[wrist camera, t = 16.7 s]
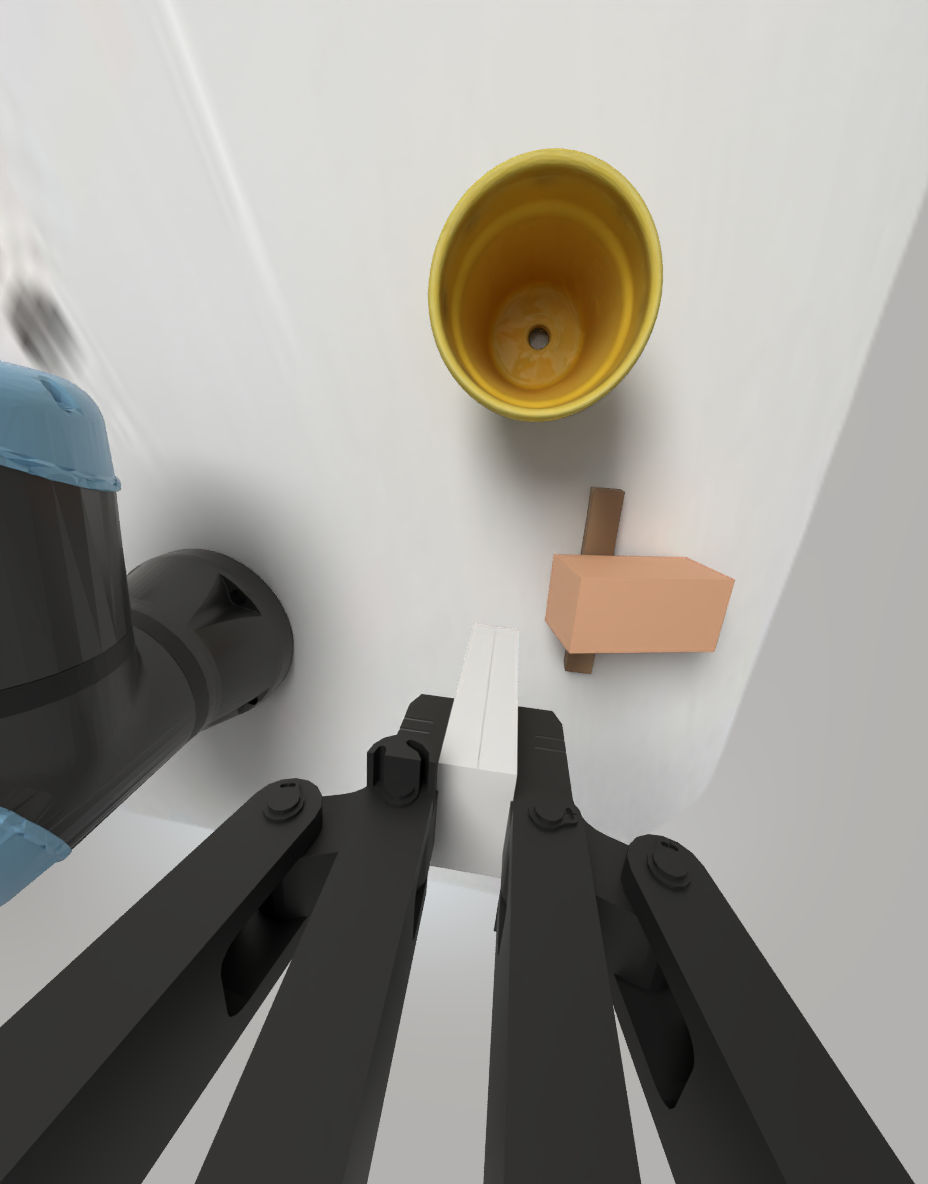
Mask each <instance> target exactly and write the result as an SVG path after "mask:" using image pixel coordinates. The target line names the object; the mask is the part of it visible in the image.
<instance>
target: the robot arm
mask: <svg viewBox="0 0 928 1184" xmlns="http://www.w3.org/2000/svg"><path fill="white" fill-rule="evenodd" d="M120 490H121V483H120V480H119V479H118V478H117V477H116V476H115V474H114V469H113V464H112V458H111V453H110V448H109V443H108V437H107V432H106V427H105V422H104V419H103V416H102V413H101V411H100V409H99V408H98V406H97V405H96V403H95V402H94V400H93V399H92V398H91V397H90V396H89V395H88V394H87V393H86V392H84V391H83V390H82V389H80V388H79V387H78V386H76V385H75V384H73V383H71V382H70V381H68V380H66V379H64V378H61V377H59V376H56V375H53V374H49V373H46V372H42V371H39V370H35V369H31V368H27V367H24V366H20V365H16V364H12V363H8V362H4V361H0V906H2V905H4V904H5V903H6V902H8V901H9V900H10V899H12V898H13V897H14V896H15V895H16V894H18V893H19V892H20V891H21V890H22V889H24V888H25V887H26V886H27V885H29V884H30V883H31V882H32V881H33V880H35V878H37V877H38V876H39V875H41V874H42V873H43V872H44V871H45V870H47V869H48V868H49V867H50V866H52V865H53V864H54V863H56V862H59V861H62V860H64V859H65V858H66V857H67V856H68V855H69V854H70V853H71V852H72V849H73V848H74V847H75V846H76V845H77V844H79V843H80V842H81V841H82V840H83V839H84V838H85V837H86V836H87V835H88V834H89V833H90V832H91V831H93V830H94V829H95V828H96V827H97V826H98V825H99V824H100V823H101V822H102V821H103V820H104V819H105V818H107V817H108V816H109V815H110V814H111V813H112V812H113V811H114V810H115V809H116V808H117V807H118V806H119V805H120V804H122V803H123V802H124V801H125V800H126V799H127V798H128V797H129V796H130V795H131V794H132V793H133V792H134V791H136V790H137V789H138V788H139V787H140V786H141V785H142V784H143V783H144V782H145V781H146V780H147V779H148V778H150V777H151V776H152V775H153V774H154V773H155V772H156V771H157V770H158V769H159V768H160V767H161V766H162V765H163V764H165V763H166V762H167V761H168V760H169V759H170V758H171V757H172V756H173V755H174V754H175V753H176V752H177V751H179V750H180V749H181V748H182V747H183V746H184V745H185V744H186V743H187V742H188V741H189V740H190V739H192V738H193V737H194V736H195V735H196V734H197V733H198V732H200V731H202V730H205V729H207V728H209V727H212V726H214V725H216V724H219V723H221V722H223V721H226V720H228V719H230V718H232V717H235V716H237V715H239V714H242V713H244V712H246V711H248V710H250V709H252V708H254V707H255V706H257V705H258V704H260V703H261V702H262V701H264V700H265V699H266V698H267V697H268V696H269V695H270V694H271V693H272V692H273V691H274V690H275V689H276V688H277V687H278V686H279V685H280V683H281V682H282V681H283V679H284V678H285V676H286V674H287V672H288V670H289V667H290V664H291V660H292V653H293V640H292V633H291V628H290V625H289V621H288V618H287V616H286V614H285V611H284V609H283V607H282V605H281V604H280V602H279V600H278V599H277V597H276V596H275V594H274V593H273V592H272V590H271V589H270V588H269V587H268V586H267V584H266V583H265V582H264V581H263V580H262V579H261V578H260V577H259V576H257V575H256V574H255V573H254V572H253V571H251V570H250V569H249V568H247V567H246V566H244V565H243V564H241V563H240V562H238V561H236V560H234V559H232V558H230V557H228V556H225V555H223V554H220V553H217V552H213V551H209V550H202V549H183V550H177V551H173V552H170V553H167V554H164V555H161V556H158V557H155V558H152V559H150V560H148V561H146V562H144V563H142V564H140V565H139V566H137V567H136V568H134V569H133V570H132V571H131V572H130V573H129V574H128V575H127V576H126V569H125V561H124V554H123V547H122V539H121V530H120V521H119V512H118V504H117V495H116V491H120ZM518 650H519V629H514V628H506V627H498V626H490V625H482V624H474V623H473V627H472V631H471V635H470V639H469V643H468V647H467V651H466V655H465V659H464V663H463V667H462V671H461V675H460V679H459V683H458V687H457V691H456V695H455V699H454V698H447V697H439V696H432V695H425V694H421V695H420V696H419V697H418V698H416V699H415V700H414V701H413V702H412V703H410V705H409V707H408V710H407V712H406V714H405V718H404V719H403V722H402V724H401V727H400V730H399V731H398V734H397V735H394V736H390V737H386V738H383V739H381V740H380V741H378V742H376V743H375V744H373V746H372V747H371V748H370V749H369V751H368V752H367V787H365V788H363V789H361V790H358V791H356V792H352V793H347V794H341V795H332V796H323V797H322V795H321V793H320V791H319V789H318V787H317V786H316V785H314V784H313V783H311V782H310V781H308V780H303V779H298V778H294V779H284V780H280V781H277V782H274V783H272V784H269V785H267V786H266V787H264V788H263V789H261V790H260V791H258V792H257V793H256V794H255V795H253V796H252V797H251V798H250V799H249V800H248V801H247V802H246V803H245V804H244V805H243V806H241V807H240V808H239V809H238V810H237V811H236V812H235V813H234V814H233V815H232V816H231V817H229V818H228V819H227V820H226V821H225V822H224V823H223V824H222V825H221V826H220V827H219V828H217V829H216V830H215V831H214V832H213V833H212V834H211V835H210V836H209V837H208V838H207V839H205V840H204V841H203V842H202V843H201V844H200V845H199V846H198V847H197V848H196V849H195V850H194V851H192V852H191V853H190V854H189V855H188V856H187V857H186V858H185V859H184V860H183V861H181V862H180V863H179V864H178V865H177V866H176V867H175V868H174V869H173V870H172V871H170V872H169V873H168V874H167V875H166V876H165V877H164V878H163V879H162V880H161V881H160V882H158V883H157V884H156V885H155V886H154V887H153V888H152V889H151V890H150V891H149V892H148V893H146V894H145V895H144V896H143V897H142V898H141V899H140V900H139V901H138V902H137V903H136V904H135V905H133V906H132V907H131V908H130V909H129V910H128V911H127V912H126V913H125V914H124V915H122V916H121V917H120V918H119V919H118V920H117V921H116V922H115V923H114V924H113V925H112V926H110V927H109V928H108V929H107V930H106V931H105V932H104V933H103V934H102V935H101V936H100V937H98V938H97V939H96V940H95V941H94V942H93V943H92V944H91V945H90V946H89V947H87V948H86V949H85V950H84V951H83V952H82V953H81V954H80V955H79V956H78V957H77V958H75V960H73V961H72V962H71V963H70V964H69V965H68V966H67V967H66V968H65V969H64V970H62V971H61V972H60V973H59V974H58V975H57V976H56V977H55V978H54V979H53V980H51V981H50V983H48V984H47V985H46V986H45V987H44V988H43V989H42V990H41V991H40V992H38V993H37V994H36V995H35V996H34V997H33V998H32V999H31V1000H30V1001H29V1002H28V1003H26V1004H25V1005H24V1006H23V1007H22V1008H21V1009H20V1010H19V1011H18V1012H17V1013H16V1014H14V1015H13V1016H12V1017H11V1018H10V1019H9V1020H8V1021H7V1022H6V1023H5V1024H4V1025H2V1026H1V1027H0V1184H141V1183H142V1182H143V1180H144V1179H145V1177H146V1176H147V1174H148V1173H149V1171H150V1170H151V1168H152V1167H153V1165H154V1164H155V1162H156V1161H157V1159H158V1158H159V1156H160V1155H161V1153H162V1152H163V1150H164V1149H165V1147H166V1146H167V1144H168V1143H169V1141H170V1140H171V1138H172V1137H173V1135H174V1134H175V1132H176V1131H177V1130H178V1128H179V1126H180V1125H181V1124H182V1122H183V1121H184V1119H185V1118H186V1116H187V1115H188V1113H189V1112H190V1110H191V1109H192V1107H193V1106H194V1104H195V1103H196V1101H197V1100H198V1098H199V1097H200V1095H201V1094H202V1092H203V1091H204V1089H205V1088H206V1086H207V1085H208V1083H209V1082H210V1080H211V1079H212V1077H213V1076H214V1074H215V1073H216V1071H217V1070H218V1068H219V1067H220V1065H221V1064H222V1062H223V1061H224V1059H225V1058H226V1056H227V1055H228V1053H229V1052H230V1050H231V1049H232V1048H233V1046H234V1045H235V1043H236V1042H237V1040H238V1039H239V1037H240V1035H241V1034H242V1032H243V1031H244V1030H245V1028H246V1027H247V1025H248V1024H249V1022H250V1020H251V1019H252V1018H253V1016H254V1015H255V1013H256V1012H257V1010H258V1009H259V1007H260V1006H261V1004H262V1003H263V1001H264V1000H265V998H266V997H267V995H268V994H269V992H270V991H271V989H272V988H273V986H274V985H275V983H276V982H277V980H278V979H279V977H280V976H281V974H282V973H283V971H284V970H285V968H286V967H287V965H288V964H289V963H290V961H291V963H290V965H289V967H288V970H287V972H286V975H285V977H284V979H283V981H282V984H281V986H280V988H279V990H278V993H277V995H276V997H275V1000H274V1002H273V1004H272V1007H271V1009H270V1011H269V1014H268V1016H267V1018H266V1020H265V1023H264V1025H263V1027H262V1030H261V1032H260V1035H259V1037H258V1039H257V1041H256V1044H255V1046H254V1048H253V1051H252V1053H251V1055H250V1058H249V1060H248V1062H247V1065H246V1067H245V1069H244V1071H243V1074H242V1076H241V1078H240V1081H239V1083H238V1085H237V1087H236V1090H235V1092H234V1094H233V1097H232V1099H231V1101H230V1103H229V1106H228V1108H227V1110H226V1113H225V1115H224V1118H223V1120H222V1122H221V1124H220V1127H219V1129H218V1131H217V1134H216V1136H215V1138H214V1140H213V1143H212V1145H211V1148H210V1150H209V1152H208V1154H207V1157H206V1159H205V1161H204V1164H203V1166H202V1168H201V1171H200V1173H199V1175H198V1177H197V1180H196V1182H195V1184H367V1181H368V1175H369V1171H370V1166H371V1161H372V1156H373V1151H374V1146H375V1141H376V1136H377V1132H378V1127H379V1122H380V1117H381V1112H382V1107H383V1102H384V1097H385V1092H386V1087H387V1082H388V1078H389V1073H390V1067H391V1062H392V1057H393V1053H394V1048H395V1043H396V1038H397V1033H398V1029H399V1024H400V1019H401V1014H402V1009H403V1004H404V999H405V994H406V989H407V984H408V979H409V974H410V970H411V964H412V960H413V955H414V950H415V945H416V940H417V935H418V930H419V925H420V921H421V916H422V911H423V906H424V901H425V896H426V888H427V876H428V870H429V866H436V867H441V868H447V869H453V870H458V871H464V872H470V873H476V874H481V875H487V876H493V877H498V878H501V889H500V895H499V901H498V908H497V914H496V921H495V927H494V931H496V932H497V933H496V953H495V971H494V990H493V1009H492V1029H491V1048H490V1068H489V1086H488V1106H487V1107H488V1108H487V1126H486V1144H485V1163H484V1183H483V1184H641V1179H640V1173H639V1167H638V1161H637V1155H636V1148H635V1142H634V1135H633V1129H632V1123H631V1116H630V1110H629V1104H628V1097H627V1091H626V1086H625V1078H624V1072H623V1066H622V1060H621V1053H620V1047H619V1041H618V1034H617V1028H616V1022H615V1015H614V1009H615V1012H616V1014H617V1017H618V1020H619V1023H620V1026H621V1029H622V1031H623V1034H624V1037H625V1040H626V1043H627V1046H628V1049H629V1052H630V1054H631V1057H632V1060H633V1063H634V1066H635V1069H636V1072H637V1074H638V1077H639V1080H640V1083H641V1086H642V1088H643V1092H644V1094H645V1097H646V1100H647V1103H648V1106H649V1109H650V1112H651V1114H652V1117H653V1120H654V1123H655V1126H656V1129H657V1131H658V1134H659V1137H660V1140H661V1143H662V1146H663V1149H664V1152H665V1154H666V1157H667V1160H668V1163H669V1166H670V1169H671V1172H672V1175H673V1177H674V1180H675V1183H676V1184H915V1183H914V1182H913V1180H912V1179H911V1177H910V1176H909V1174H908V1173H907V1171H906V1170H905V1169H904V1167H903V1165H902V1164H901V1162H900V1161H899V1159H898V1158H897V1156H896V1155H895V1153H894V1152H893V1150H892V1149H891V1147H890V1146H889V1145H888V1143H887V1141H886V1140H885V1138H884V1137H883V1135H882V1134H881V1132H880V1131H879V1129H878V1128H877V1126H876V1125H875V1123H874V1122H873V1120H872V1119H871V1117H870V1116H869V1114H868V1113H867V1111H866V1110H865V1108H864V1107H863V1105H862V1104H861V1102H860V1101H859V1099H858V1098H857V1096H856V1095H855V1093H854V1092H853V1090H852V1089H851V1087H850V1086H849V1084H848V1083H847V1081H846V1080H845V1078H844V1077H843V1075H842V1074H841V1072H840V1071H839V1069H838V1068H837V1066H836V1064H835V1063H834V1061H833V1060H832V1058H831V1057H830V1056H829V1054H828V1053H827V1051H826V1049H825V1048H824V1046H823V1045H822V1043H821V1042H820V1040H819V1039H818V1037H817V1036H816V1034H815V1033H814V1031H813V1030H812V1028H811V1027H810V1025H809V1024H808V1022H807V1021H806V1019H805V1018H804V1016H803V1015H802V1013H801V1012H800V1010H799V1009H798V1007H797V1006H796V1004H795V1003H794V1001H793V1000H792V998H791V997H790V995H789V994H788V992H787V991H786V989H785V988H784V986H783V985H782V983H781V982H780V980H779V979H778V977H777V976H776V974H775V973H774V971H773V970H772V968H771V967H770V965H769V964H768V962H767V961H766V959H765V958H764V956H763V955H762V953H761V952H760V950H759V949H758V947H757V946H756V944H755V943H754V941H753V940H752V938H751V937H750V935H749V934H748V932H747V931H746V929H745V928H744V926H743V925H742V923H741V921H740V920H739V919H738V917H737V915H736V914H735V912H734V911H733V909H732V908H731V906H730V905H729V903H728V902H727V900H726V899H725V897H724V896H723V894H722V893H721V891H720V890H719V888H718V887H717V885H716V884H715V882H714V881H713V879H712V878H711V876H710V875H709V873H708V872H707V870H706V869H705V867H704V866H703V865H702V864H701V862H700V861H699V860H698V859H697V858H696V857H695V856H694V854H693V853H692V852H690V851H689V850H687V849H686V848H685V847H683V846H682V845H680V844H679V843H678V842H675V841H673V840H671V839H668V838H666V837H664V836H658V835H651V834H647V835H643V836H639V837H636V838H635V839H634V840H633V841H632V842H631V843H630V844H629V845H627V844H624V843H622V842H620V841H618V840H615V839H613V838H611V837H608V836H606V835H605V834H603V833H601V832H599V831H597V830H596V829H594V828H593V827H592V826H591V825H589V824H588V823H587V822H586V821H585V820H584V819H583V818H582V815H581V813H580V810H579V809H578V808H577V807H576V806H575V804H574V802H573V798H572V791H571V784H570V777H569V770H568V763H567V756H566V748H565V741H564V734H563V727H562V724H561V722H560V721H559V719H558V718H557V717H556V715H555V714H554V713H553V711H548V710H540V709H533V708H526V707H519V706H518ZM430 861H431V863H430ZM613 1006H614V1009H613Z"/></svg>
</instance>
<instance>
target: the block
mask: <svg viewBox="0 0 928 1184" xmlns="http://www.w3.org/2000/svg"><path fill="white" fill-rule="evenodd" d="M734 582H735V579H733V578H730V577H728V576H726V575H724V574H722V573H719V572H717V571H715V570H713V569H711V568H709V567H706V566H704V565H702V564H700V563H698V562H695V561H693V560H691V559H689V558H687V557H649V556H604V555H558V554H554V556H553V564H552V571H551V579H550V586H549V594H548V601H547V609H546V616H545V621H546V623H547V624H548V625H549V627H550V628H551V629H552V631H553V632H554V634H555V635H556V636H557V638H558V639H559V640H560V642H561V643H562V644H563V646H564V647H565V648H566V650H567V651H568V652H569V653H646V652H714V651H715V648H716V644H717V641H718V638H719V634H720V631H721V627H722V624H723V620H724V617H725V613H726V610H727V606H728V603H729V599H730V596H731V592H732V589H733V585H734Z"/></svg>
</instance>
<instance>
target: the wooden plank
mask: <svg viewBox="0 0 928 1184" xmlns="http://www.w3.org/2000/svg"><path fill="white" fill-rule="evenodd" d="M624 494H625V492H624V491H622V490H621V489H610V488H597V487H591V493H590V499H589V505H588V512H587V518H586V524H585V531H584V537H583V543H582V549H581V555H604V556H613V553H614V548H615V543H616V537H617V532H618V526H619V521H620V516H621V510H622V505H623V499H624ZM594 656H595V653H569V652H568V651H567V650H565V657H564V667H565V671H570V672H578V673H587V674H591V672H592V667H593V661H594Z"/></svg>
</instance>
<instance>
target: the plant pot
mask: <svg viewBox="0 0 928 1184" xmlns="http://www.w3.org/2000/svg"><path fill="white" fill-rule="evenodd" d="M662 284H663V264H662V253H661V247H660V242H659V238H658V234H657V230H656V227H655V224H654V222H653V219H652V216H651V214H650V212H649V210H648V208H647V206H646V204H645V202H644V201H643V199H642V197H641V196H640V194H639V193H638V192H637V190H636V189H635V188H634V187H633V185H632V184H631V183H630V182H629V181H628V180H627V179H626V178H625V177H624V176H623V175H622V174H621V173H620V172H618V171H617V170H616V169H614V168H613V167H612V166H610V165H609V164H608V163H606V162H604V161H602V160H600V159H598V158H596V157H594V156H592V155H589V154H586V153H583V152H579V151H575V150H568V149H560V148H555V149H542V150H536V151H532V152H528V153H524V154H521V155H518V156H516V157H513V158H511V159H509V160H507V161H505V162H503V163H501V164H499V165H498V166H496V167H495V168H493V169H492V170H490V171H489V172H487V173H486V174H485V175H484V176H482V177H481V178H480V179H479V180H478V181H476V182H475V184H474V185H472V186H471V187H470V188H469V189H468V190H467V192H466V193H465V194H464V195H463V197H462V198H461V199H460V201H459V202H458V203H457V205H456V206H455V208H454V209H453V211H452V212H451V214H450V216H449V217H448V219H447V221H446V223H445V225H444V227H443V230H442V232H441V234H440V237H439V239H438V242H437V245H436V248H435V251H434V255H433V259H432V264H431V269H430V277H429V288H428V305H429V316H430V322H431V327H432V332H433V336H434V339H435V342H436V345H437V348H438V350H439V352H440V355H441V357H442V359H443V361H444V363H445V365H446V366H447V368H448V370H449V371H450V373H451V374H452V376H453V377H454V379H455V380H456V381H457V382H458V384H459V385H460V386H461V387H462V388H463V389H464V390H465V391H466V392H467V393H468V394H469V395H470V396H471V397H472V398H473V399H474V400H476V401H477V402H478V403H480V404H481V405H482V406H484V407H486V408H487V409H489V410H491V411H492V412H495V413H497V414H499V415H501V416H504V417H507V418H510V419H514V420H519V421H527V422H543V421H551V420H557V419H560V418H564V417H567V416H570V415H573V414H575V413H577V412H580V411H582V410H584V409H586V408H587V407H589V406H591V405H593V404H594V403H596V402H597V401H599V400H600V399H601V398H603V397H604V396H605V395H607V394H608V393H609V392H610V391H611V390H612V389H614V388H615V387H616V386H617V385H618V384H619V383H620V382H621V381H622V379H623V378H624V377H625V376H626V375H627V374H628V373H629V371H630V370H631V369H632V367H633V366H634V364H635V363H636V361H637V360H638V358H639V357H640V355H641V353H642V351H643V350H644V348H645V346H646V344H647V342H648V340H649V337H650V335H651V333H652V330H653V327H654V324H655V321H656V318H657V315H658V310H659V306H660V301H661V295H662ZM537 327H540V328H543V329H544V330H546V332H547V333H548V336H549V340H548V343H547V345H546V346H545V347H544V348H542V349H535V348H533V347H532V346H531V345H530V343H529V334H530V332H531V331H532V330H533V329H535V328H537Z"/></svg>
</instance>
